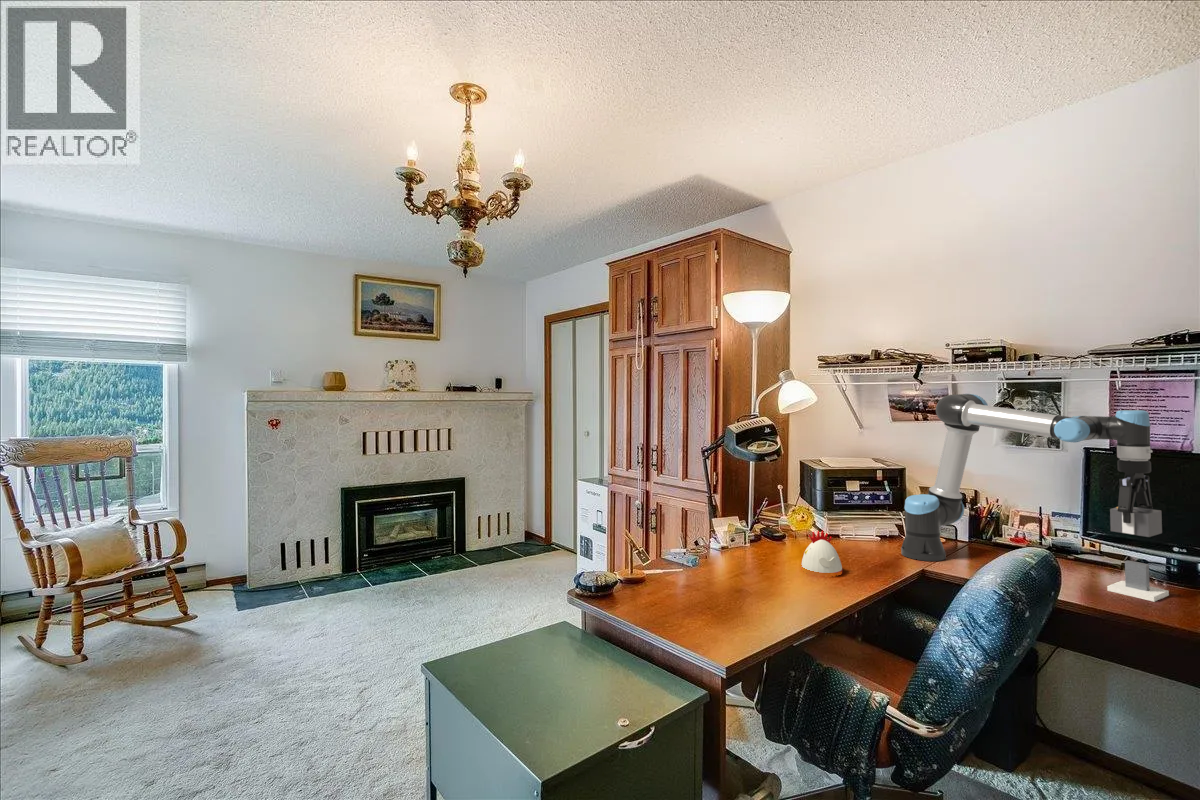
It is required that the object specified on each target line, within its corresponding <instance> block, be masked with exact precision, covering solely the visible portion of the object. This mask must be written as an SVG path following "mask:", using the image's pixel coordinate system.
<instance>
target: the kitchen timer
mask: <svg viewBox="0 0 1200 800" xmlns="http://www.w3.org/2000/svg"><path fill="white" fill-rule="evenodd" d="M828 535H829V534H828V533H825V532H824V530H821V532H820V531H819V530H817V532H816V533H815V531H812V535H810V534H808V537H809V540H810V541H811V543H809V545H808V546H807V547H806V549H805V551H804V552H803V556H802V559H801V565H802V566H801V568H802V567H803V568H805V569H807V570H810V571H814V572H819V573H838V572H841V571H842V572H843V566H842V561H841V558H840V557H839V554H838V553H837V550H836V549H835V547H834V546H833V545H832V543H831V541H832V536H829V538H828Z"/></svg>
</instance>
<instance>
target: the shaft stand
mask: <svg viewBox="0 0 1200 800" xmlns="http://www.w3.org/2000/svg"><path fill="white" fill-rule="evenodd" d="M1124 575H1125V577H1124V579H1125V580H1120V581H1117V582H1115V583H1111V584H1110V585H1109V584H1108V585H1107V589H1106V590H1107V591H1108V592H1112V593H1116V594H1120V595H1124V596H1128V597H1133V598H1137V599H1142V600H1146V601H1150V602H1152V603H1153V602H1154V603H1155V602H1157V601H1158V600H1161V599H1164V598H1166V597H1169V596H1170V593H1169V590H1167V589H1162V588H1159V587H1155V586H1150V564H1148V563H1144V562H1138V561H1133V560H1125V561H1124Z"/></svg>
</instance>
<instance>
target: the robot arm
mask: <svg viewBox="0 0 1200 800" xmlns="http://www.w3.org/2000/svg"><path fill="white" fill-rule="evenodd" d="M935 413H936V416H937V418H938V419H939V420H940V421H941V422H942V423H943V425H944V427H945V428H946V434H945V439H944V443H943V447H942V451H941V457H940V460H939V463H938V464H939V466H938V469H937V474H936V477H935V482H934V485H933V486H930V487H929V488H928V492H927V494H926V493H925V494H924V493H923V494H920V493H919V494H912V495H909V496H907V497H906V499H905V500H904V507H903V508H904V517H905V518H904V521H905V537H904V538H903V541H902V545H901V547H900V550H901V551H900V552H901V553H900V554H901V556H904V557H905V558H909V559H913V560H916V559H917V560H918V561H924V562H939V561H944V560H946V558H947V556H946V554H947V553H946V550H945V549H944V545H943V542H942V540H941V533H940V532H941V531H940V530H941V529H940V527H941V526H946V525H951V524H955V522H958V521H960V520H961V518H963V515H964V513H965V505H964V504H963V501H962V499H963V495H962V493H961V492H960V489H961V484H962V482H963V476H964V472H965V468H966V464H967V459H968V456H969V452H970V448H971V445H972V441H973V436H974V434H976V433H979V431H980V427H987V428H992V429H998V430H1004V431H1009V432H1010V431H1011V432H1017V433H1023V434H1027V435H1028V434H1029V435H1034V436H1041V437H1047V438H1053V439H1058V440H1061V441H1063V442H1064V443H1065V442H1066V443H1080V442H1083V441H1090V440H1091V441H1092V440H1110V441H1116V457H1117V458H1118V460H1117V462H1116V463H1117V471H1118V472H1120V473H1124V478H1119V480H1118V483H1119V488H1118V489H1119V491H1118V501H1117V507H1118V511H1119V512H1122V533H1121V534H1126V533H1128V534H1127V535H1132V534H1135V519H1134V513H1132V512H1133V507H1135V502H1136V505H1137V508H1145V509H1153V510H1154V506H1153V502H1152V500H1153V499H1152V494H1151V492H1152V491H1151V486H1150V476H1149V475H1145V474H1150V473H1151V472H1152V462H1151V461H1150V459H1151V456H1152V455H1151V453H1153V450H1152V449H1151V426H1152V425H1151V423H1150V421H1151V420H1150V414H1149V412H1148V411H1146V410H1141V409H1138V410H1137V409H1136V410H1134V409H1131V410H1130V409H1129V410H1127V409H1124V410H1123V409H1122V410H1117V411H1116V412H1115V415H1113V416H1099V415H1097V416H1095V415H1078V416H1065V415H1058V414H1051V413H1044V412H1043V413H1042V412H1035V411H1029V410H1022V409H1021V410H1020V409H1015V408H1006V407H999V406H992V405H989V404H988V403H987V402H986V400H985V399H984V398H983V397H981V396H980V395H978V394H974V393H972V394H971V393H961V394H960V393H958V394H948V395H945V396H943V397H942V398H940V399H939V400H938V401H937V404H936V406H935ZM917 560H916V561H917Z"/></svg>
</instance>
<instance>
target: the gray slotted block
mask: <svg viewBox="0 0 1200 800" xmlns="http://www.w3.org/2000/svg"><path fill="white" fill-rule="evenodd" d="M1109 512H1110V513H1109V515H1110V516H1109V522H1110V523H1109V524H1110V532H1115V533H1121V534H1123V533H1122V512H1119V511H1118V506H1116V507H1113V508H1109ZM1132 513H1134V519H1135V534H1131V535H1133V536H1139V537H1146V538H1151V537H1154V536H1157V535H1161V534H1163V524H1162V523H1163V522H1162V521H1163V519H1162V518H1163V517H1162V514H1163V513H1162V510H1160V509H1154V508H1153V509H1145V508H1138V506H1137V507H1136V506H1134V507H1133V512H1132ZM1125 534H1127V535H1129V534H1128V533H1125Z"/></svg>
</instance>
